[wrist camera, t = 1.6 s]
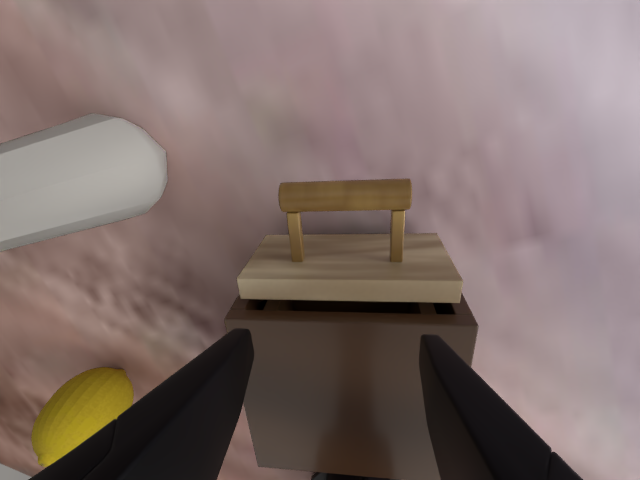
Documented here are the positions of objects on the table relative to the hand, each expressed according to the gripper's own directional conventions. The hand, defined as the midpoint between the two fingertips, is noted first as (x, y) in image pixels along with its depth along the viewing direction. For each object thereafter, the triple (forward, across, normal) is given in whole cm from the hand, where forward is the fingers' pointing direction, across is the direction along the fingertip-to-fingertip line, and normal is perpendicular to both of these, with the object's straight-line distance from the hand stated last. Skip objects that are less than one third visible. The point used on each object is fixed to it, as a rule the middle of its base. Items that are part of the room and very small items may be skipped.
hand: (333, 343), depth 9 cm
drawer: (+11, 0, +5) cm, 12 cm away
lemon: (+12, +21, +15) cm, 28 cm away
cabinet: (+12, 0, +9) cm, 15 cm away
